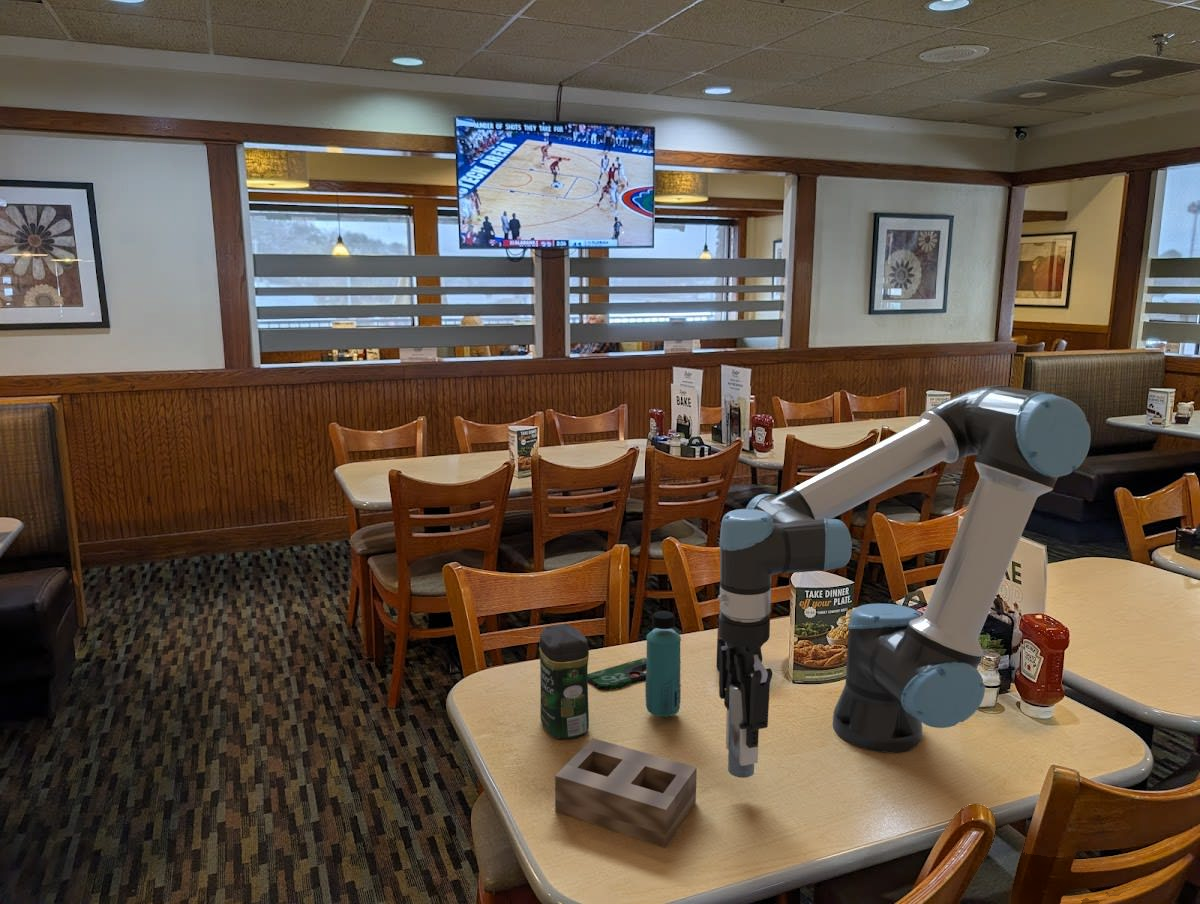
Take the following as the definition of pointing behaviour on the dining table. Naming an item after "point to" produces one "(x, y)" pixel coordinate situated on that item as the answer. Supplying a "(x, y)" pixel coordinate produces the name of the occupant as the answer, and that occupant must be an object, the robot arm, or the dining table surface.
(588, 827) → the dining table surface
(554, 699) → the coffee jar
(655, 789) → the peg block
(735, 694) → the steel peg
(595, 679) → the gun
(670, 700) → the beverage bottle
